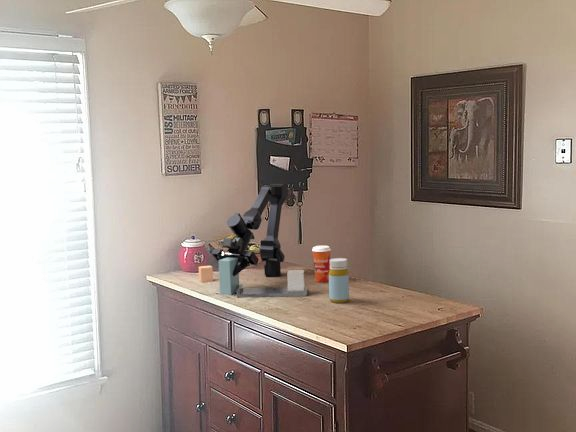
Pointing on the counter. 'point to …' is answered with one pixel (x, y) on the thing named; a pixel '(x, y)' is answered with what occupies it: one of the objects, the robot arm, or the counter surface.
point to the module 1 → (205, 274)
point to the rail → (293, 289)
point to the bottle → (338, 280)
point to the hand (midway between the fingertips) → (226, 275)
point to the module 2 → (228, 276)
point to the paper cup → (321, 263)
